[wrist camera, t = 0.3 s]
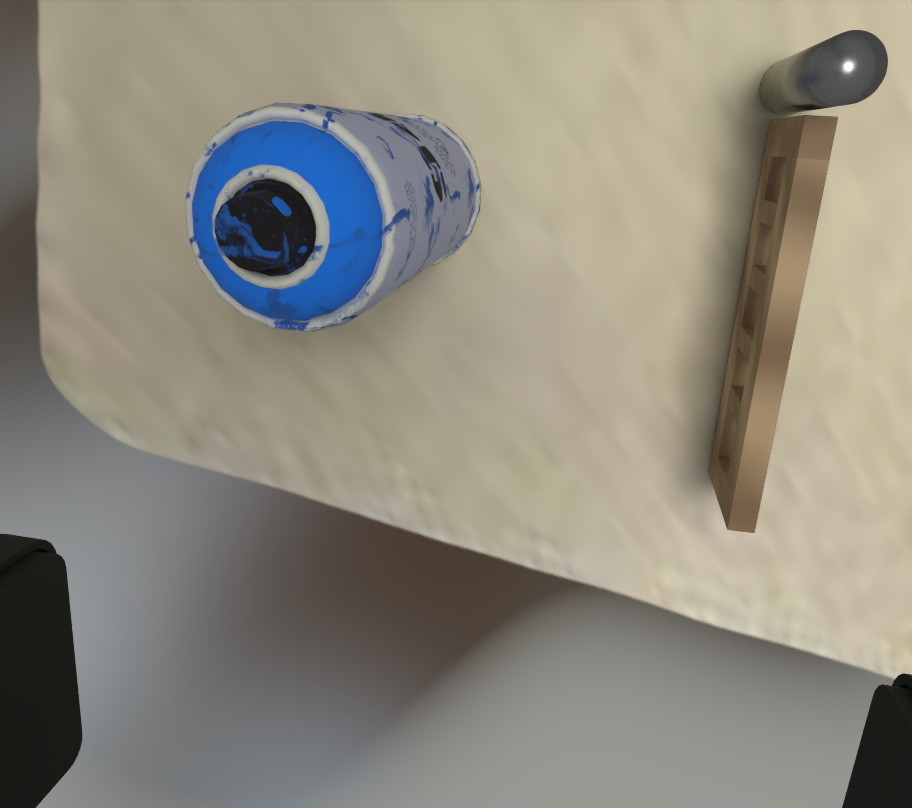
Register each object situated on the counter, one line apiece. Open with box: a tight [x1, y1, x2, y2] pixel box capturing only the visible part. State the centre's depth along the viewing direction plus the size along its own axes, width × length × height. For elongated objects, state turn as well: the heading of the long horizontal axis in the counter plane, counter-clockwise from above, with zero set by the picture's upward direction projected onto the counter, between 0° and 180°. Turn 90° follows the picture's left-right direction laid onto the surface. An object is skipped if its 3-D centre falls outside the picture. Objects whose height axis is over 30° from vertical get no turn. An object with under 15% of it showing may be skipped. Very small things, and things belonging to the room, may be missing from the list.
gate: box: [709, 115, 838, 533], centre depth 36 cm, size 18×1×7 cm, turn 177°
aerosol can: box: [185, 103, 481, 332], centre depth 32 cm, size 8×8×20 cm
